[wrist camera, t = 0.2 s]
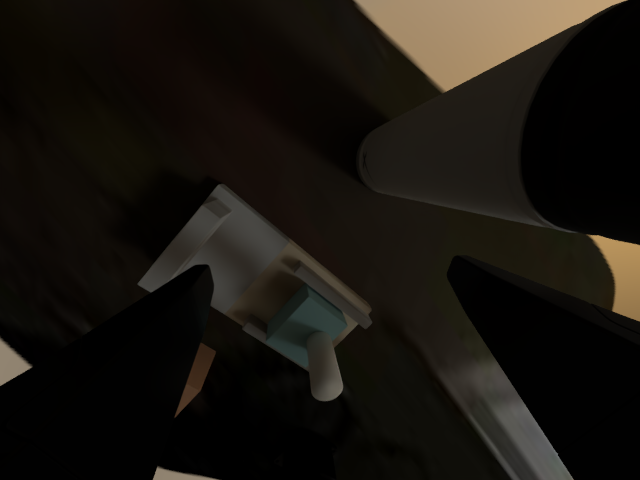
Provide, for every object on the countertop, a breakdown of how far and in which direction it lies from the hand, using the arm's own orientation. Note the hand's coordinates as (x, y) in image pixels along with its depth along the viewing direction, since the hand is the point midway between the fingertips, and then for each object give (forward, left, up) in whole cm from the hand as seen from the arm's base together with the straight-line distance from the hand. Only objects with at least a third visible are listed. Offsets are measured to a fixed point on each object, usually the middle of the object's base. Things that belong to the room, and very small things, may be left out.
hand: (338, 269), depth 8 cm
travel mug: (+9, -3, -15) cm, 18 cm away
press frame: (-8, -3, -15) cm, 18 cm away
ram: (-8, -7, -14) cm, 18 cm away
